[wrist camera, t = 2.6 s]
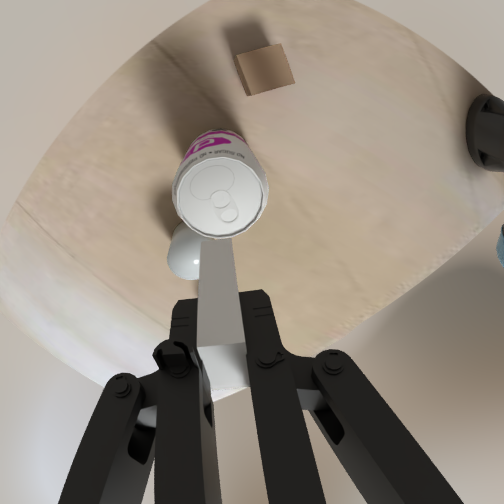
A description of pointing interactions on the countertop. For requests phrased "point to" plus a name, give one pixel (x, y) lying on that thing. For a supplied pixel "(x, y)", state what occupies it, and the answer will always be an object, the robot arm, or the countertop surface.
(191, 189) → the supplement can
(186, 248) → the white rounded cylinder
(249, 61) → the walnut block
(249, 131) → the countertop surface
